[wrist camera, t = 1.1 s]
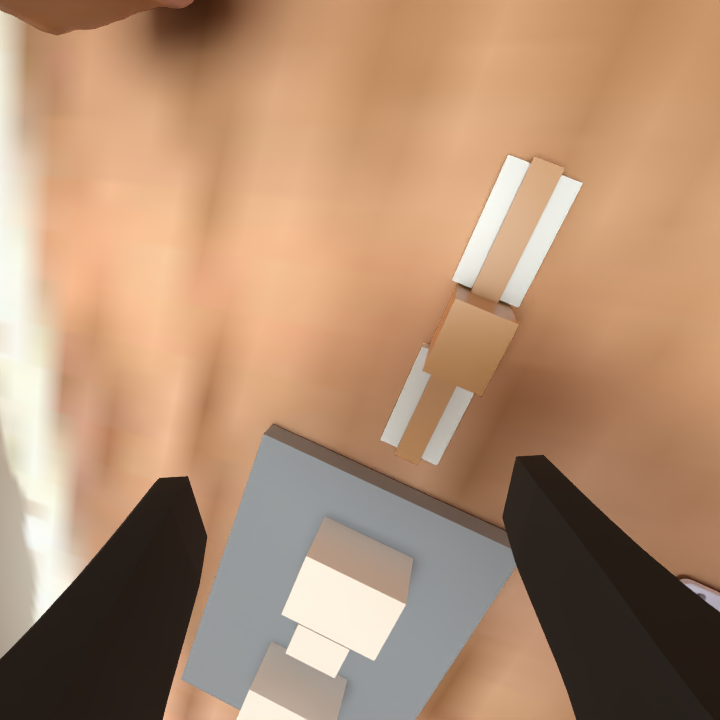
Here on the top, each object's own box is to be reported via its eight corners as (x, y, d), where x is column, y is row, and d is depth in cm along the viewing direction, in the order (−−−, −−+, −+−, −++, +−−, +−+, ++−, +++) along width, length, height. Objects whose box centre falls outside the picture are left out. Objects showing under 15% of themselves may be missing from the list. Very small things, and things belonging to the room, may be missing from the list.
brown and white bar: (580, 179, 18) (612, 168, 14) (436, 460, 23) (429, 510, 19) (509, 151, 18) (520, 133, 14) (381, 435, 23) (364, 480, 19)
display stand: (521, 538, 23) (532, 603, 19) (378, 760, 30) (364, 841, 26) (273, 424, 24) (235, 463, 20) (191, 662, 31) (152, 726, 27)
